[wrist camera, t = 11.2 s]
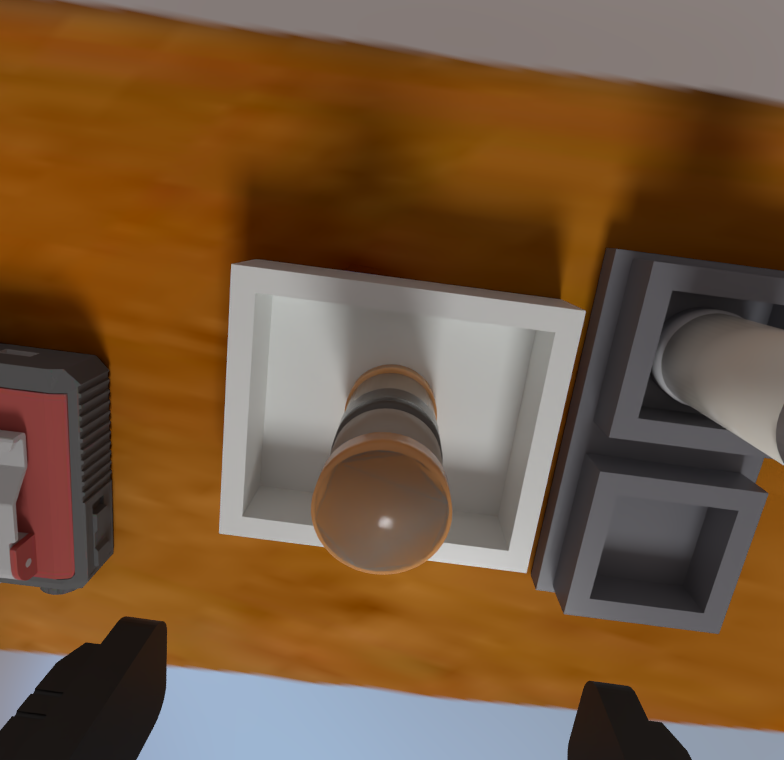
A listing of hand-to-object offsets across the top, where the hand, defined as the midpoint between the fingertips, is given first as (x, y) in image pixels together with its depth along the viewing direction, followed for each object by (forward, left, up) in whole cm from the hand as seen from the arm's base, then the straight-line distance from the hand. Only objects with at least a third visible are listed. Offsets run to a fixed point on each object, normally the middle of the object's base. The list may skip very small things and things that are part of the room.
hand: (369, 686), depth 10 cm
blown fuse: (0, 0, -16) cm, 16 cm away
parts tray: (0, 0, -17) cm, 17 cm away
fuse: (-13, -5, -16) cm, 21 cm away
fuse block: (-13, 0, -17) cm, 21 cm away
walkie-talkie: (+18, +8, -17) cm, 26 cm away
